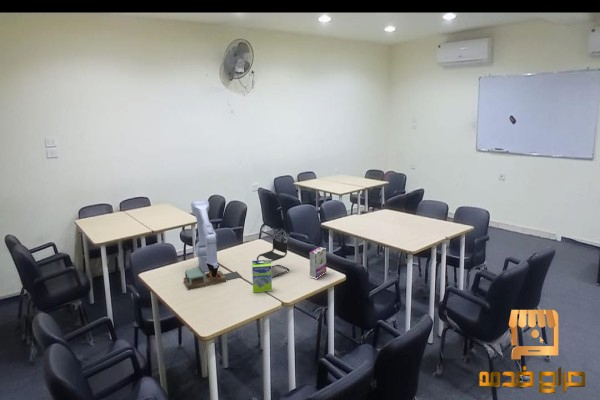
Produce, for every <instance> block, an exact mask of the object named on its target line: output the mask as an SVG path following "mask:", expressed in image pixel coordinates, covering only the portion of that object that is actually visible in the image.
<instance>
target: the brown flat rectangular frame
mask: <svg viewBox="0 0 600 400" xmlns="http://www.w3.org/2000/svg"><path fill="white" fill-rule="evenodd" d="M223 274H224V273H223V272H222V271H221V270H217V276H218V278H216V279H211V280H209V272H206V273H205V276H206V282H204V276H203V277H198V278H193V279H191V282H192V285H190V282H189V278H188V276H187V278H185V277H183V283H184V285H185V286H186V289H187V290H188V291H190V290H194V289H199V288H203V287H208V286H213V285H218V284H223V283H226V282H227V279H226V277H225V276H224V275H223Z"/></svg>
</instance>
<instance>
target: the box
mask: <svg viewBox="0 0 600 400" xmlns="http://www.w3.org/2000/svg"><path fill="white" fill-rule="evenodd" d="M270 261H271V259H260V260H259V259H258V261H257V260H252V264H251V269H252V270H251V272H252V273H251V274H252V293H253V292H255V293H263V292H264V293H265V291H267V292H271V291H270V290H272V291H273V288H272V287H273V285H272V284H273V281H272V280H273V278H272V276H273V275H272V274H273V273H272V268H271V266H272V262H271V263H270Z"/></svg>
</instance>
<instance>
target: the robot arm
mask: <svg viewBox="0 0 600 400" xmlns="http://www.w3.org/2000/svg"><path fill="white" fill-rule="evenodd" d="M190 206H191V213H192V216H193V215H194V216H195V219H196V226H197V232H198V233H197V234H198V242H196V243H195V250H194V251H195V255H196V257H197V260H198V261H197V262H198V266H197V267H196V268H199V265H201V266H202V268H203V269H204V271H205V272H206V273H207V272H209V271H211V274H212V277H216V275H217V271H219V268H220V265H218V261H219V260H218V254H217V253H218V252H217V251H218V250H217V243H218V235H217V233H216V232H215V230H214V226H213V224H212V222H210V220H209V214H208V213H209V211H210V202H209V200H207V199H204V200H196V201H191V204H190Z"/></svg>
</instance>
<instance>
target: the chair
mask: <svg viewBox="0 0 600 400" xmlns="http://www.w3.org/2000/svg"><path fill="white" fill-rule="evenodd" d="M276 236H279V237H283V238H285V242H281V241H278V240H276V239H275V237H276ZM290 239H291V237H290V236H287V235H285V234H281V233H279V232H278V233H274V234H273V235H272V249H271V250H270V251H266V252H263V253H261V254H260V253H259V255H258V256H257V257H256V261H258V260H259V259H260V257H263V258H265V259H266V260H270V263H271V264H272V263H273V262H275V261H278V260H281V259H284V258H285V257H286V256H287V255H288V241H289V240H290ZM275 250H276V251H278V252H281V253H284V254H278V253H276V252H274V251H275ZM274 266H282V267H284V268H286V269H288V270H286V269H285V270H284V271H282V272H280V273H277V274H274V275H272V277H274V276H277V275H279V274H282V273H284V272H287V271H289V272H290V269H289V268H288V267H285V266H284V265H280V264H275V265H271V267H274ZM274 268H275V267H274ZM284 268H283V269H284ZM287 273H288V272H287ZM284 274H285V273H284ZM282 275H283V274H282ZM279 276H280V275H279ZM277 277H278V276H277ZM274 278H275V277H274Z"/></svg>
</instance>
